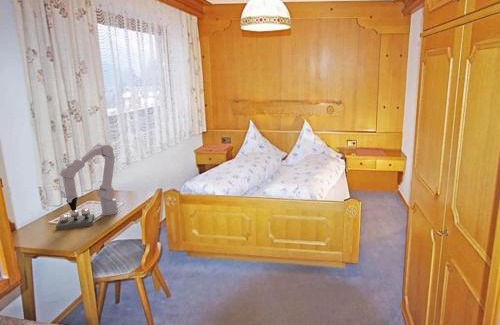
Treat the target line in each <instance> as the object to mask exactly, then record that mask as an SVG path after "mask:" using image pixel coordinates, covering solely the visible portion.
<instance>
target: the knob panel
mask: <svg viewBox="0 0 500 325" xmlns="http://www.w3.org/2000/svg"><path fill="white" fill-rule="evenodd" d="M68 219H69V221H67V222H60V219H59V220H58V222H57V223H56V225H55V229H56V231H61V230H68V229H75V228H76V229H77V228H82V227H83V228H84V227H91V226H93V225H94V221H95V213H90V215H88V219H85V216H82V215H79V216H77V220H76V221H74V217H71V216H68Z"/></svg>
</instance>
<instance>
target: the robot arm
mask: <svg viewBox="0 0 500 325" xmlns="http://www.w3.org/2000/svg"><path fill="white" fill-rule="evenodd" d="M95 156H101V157H102V158H104V167H103V174H102V181H101V184H100V186H99V189H98V191H97V193H96V194H97V196H98V197H99V200H100V207H101V213H100V214H101V217H102V215H103V216H109V215H117V214H118V211H119V207H118V201H117V198H115V193H114V187H113V186H112V184H113V177H114V176H113V175H114V166H115V160H116V156H115V153H114V148H113V147H112V146H111V145H110V144H106V143H99V142H98V143H97V144H95V145H94V146H92V148H91V149H90V150H89V151H88V152H86V153H85V155H83V156H82V157H81V158H77V159H74V160H73V161H72V163H70V164H69V165H67V166H66V167H64V168H62V169H61V171H60V173H59V174H60V176H61V178H62V179H63V185H64V186H63V187H64V192H65V195H64V196H63V198H64V199H66V203H67V204H68V206H69V207H70V211H75V210H77V203H78V199H79V196H78V193H77V187H76V180H75V177H76V174H77V173H78V172H79V171H80V170H82V169H83V168H84V167H85V166H86V165H85V164H86V163H87V162H89V161H90V160H91V159H93V158H94V157H95Z"/></svg>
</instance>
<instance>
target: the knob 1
mask: <svg viewBox="0 0 500 325" xmlns="http://www.w3.org/2000/svg"><path fill="white" fill-rule="evenodd" d="M68 217H69V214H62V215H60V216H59V220H60V222H67V221H69V219H68Z"/></svg>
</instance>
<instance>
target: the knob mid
mask: <svg viewBox="0 0 500 325" xmlns="http://www.w3.org/2000/svg"><path fill="white" fill-rule="evenodd" d="M69 213H70V214H69V215H70V217H74V221H76V220H77V216H80V212H79V209H76V210H75V211H72V210H70V211H69Z"/></svg>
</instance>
